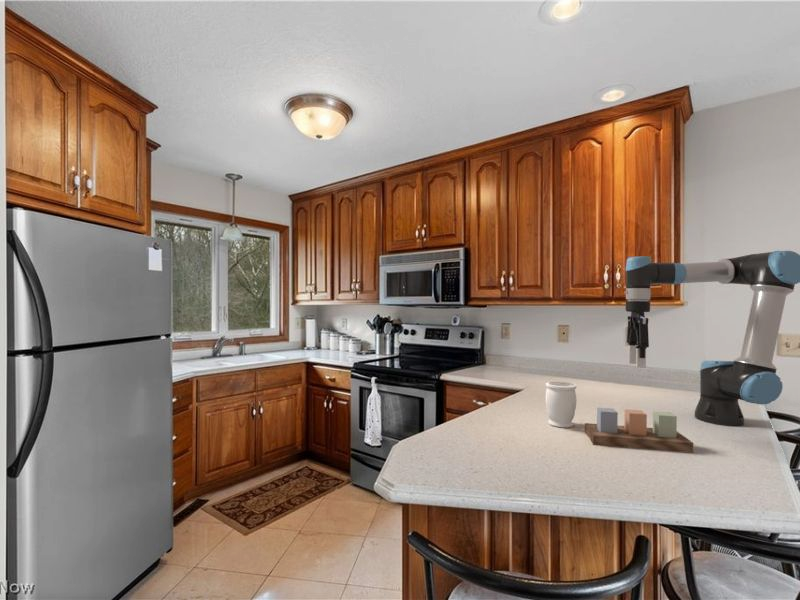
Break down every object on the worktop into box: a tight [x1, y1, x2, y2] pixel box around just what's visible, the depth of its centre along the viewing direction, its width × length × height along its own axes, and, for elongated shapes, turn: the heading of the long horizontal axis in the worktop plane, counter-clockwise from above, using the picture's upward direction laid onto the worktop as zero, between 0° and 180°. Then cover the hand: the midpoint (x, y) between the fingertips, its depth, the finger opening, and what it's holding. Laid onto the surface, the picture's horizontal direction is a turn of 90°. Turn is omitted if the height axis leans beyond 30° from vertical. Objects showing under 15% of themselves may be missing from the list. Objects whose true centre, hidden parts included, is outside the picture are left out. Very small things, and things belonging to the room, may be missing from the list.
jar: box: [544, 381, 577, 429], centre depth 151 cm, size 11×10×15 cm
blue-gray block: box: [596, 407, 619, 434], centre depth 136 cm, size 5×5×8 cm
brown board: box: [584, 422, 694, 454], centre depth 134 cm, size 28×13×3 cm, turn 77°
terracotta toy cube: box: [623, 409, 648, 436], centre depth 134 cm, size 5×5×8 cm
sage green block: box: [652, 410, 678, 438], centre depth 132 cm, size 5×5×8 cm
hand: (636, 365), depth 145 cm, fingers open, 8 cm apart
